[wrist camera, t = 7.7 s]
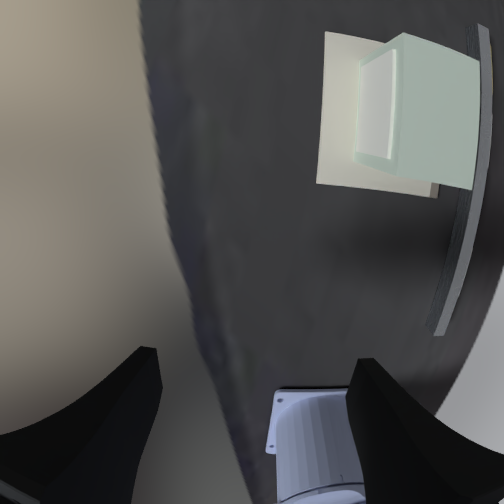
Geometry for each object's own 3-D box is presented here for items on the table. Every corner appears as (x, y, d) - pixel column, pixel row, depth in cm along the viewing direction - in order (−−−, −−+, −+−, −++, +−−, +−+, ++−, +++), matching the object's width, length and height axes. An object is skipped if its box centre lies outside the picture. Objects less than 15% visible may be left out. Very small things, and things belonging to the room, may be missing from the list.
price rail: (436, 324, 21) (445, 335, 19) (425, 325, 21) (433, 336, 19) (477, 33, 13) (489, 29, 11) (465, 27, 13) (477, 23, 11)
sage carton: (422, 76, 14) (481, 62, 9) (416, 171, 17) (474, 190, 11) (356, 60, 14) (400, 31, 9) (350, 160, 17) (392, 175, 11)
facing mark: (435, 197, 17) (437, 198, 17) (316, 182, 17) (316, 183, 17) (444, 63, 14) (446, 62, 14) (324, 32, 14) (325, 31, 14)
